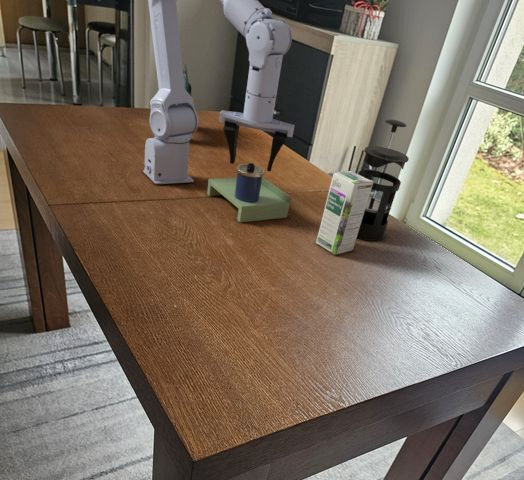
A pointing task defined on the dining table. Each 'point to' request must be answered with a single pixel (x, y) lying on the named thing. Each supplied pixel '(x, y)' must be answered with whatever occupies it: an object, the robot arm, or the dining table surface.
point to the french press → (380, 187)
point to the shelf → (267, 207)
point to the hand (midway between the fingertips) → (250, 166)
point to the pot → (248, 182)
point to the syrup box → (343, 211)
